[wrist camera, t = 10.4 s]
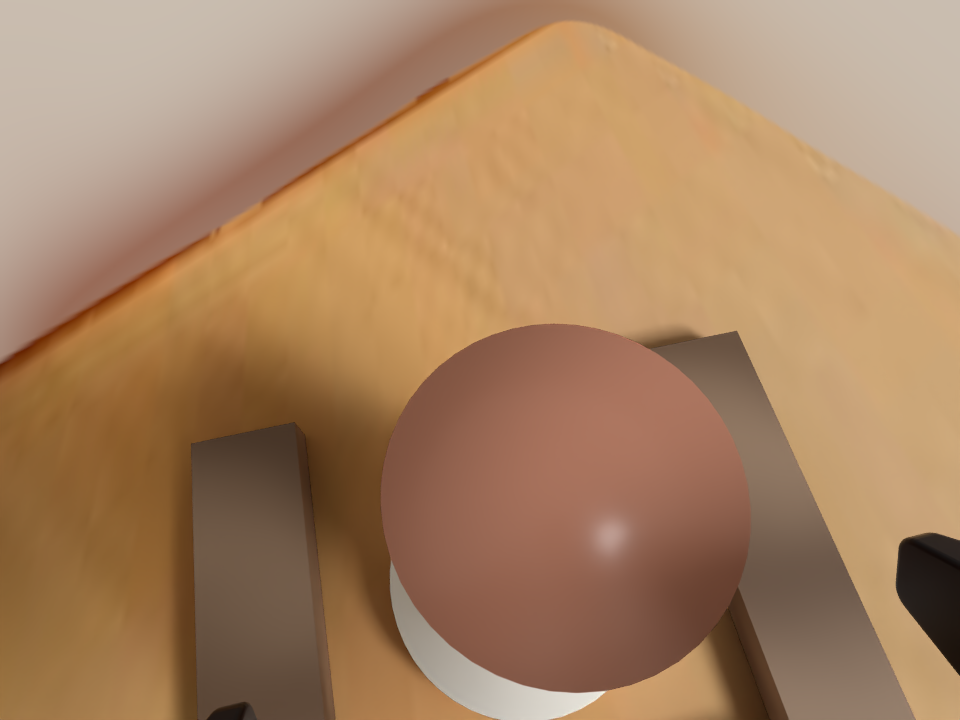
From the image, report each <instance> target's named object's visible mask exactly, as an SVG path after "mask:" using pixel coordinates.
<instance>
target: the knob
mask: <svg viewBox="0 0 960 720" xmlns="http://www.w3.org/2000/svg"><path fill="white" fill-rule="evenodd" d="M381 515H382V522H383V530H384V536H385V539H386V543H387V547H388V550H389V554H390V558H391V567H390V593H391V601H392V608H393V612H394V616H395V619H396V623H397V627H398V629H399V632H400V634H401V637H402V639H403V642H404V644H405V646H406V647H407V649H408V651H409V653H410V655H411V656H412V658H413V660H414V661H415V663H416V664H417V665H418V667H419V668H420V669H421V671H422V672H423V673H424V675H425V676H426V677H427V678H428V679H429V680H430V681H431V682H432V683H433V684H434V685H435V686H436V687H437V688H438V689H439V690H441V691H442V692H443V693H445V694H446V695H447V696H448V697H450V698H451V699H452V700H454V701H455V702H457V703H459V704H461V705H463V706H464V707H466V708H468V709H470V710H472V711H475V712H477V713H480V714H482V715H485V716H487V717H491V718H496V719H500V720H550V719H554V718H558V717H562V716H565V715H567V714H570V713H572V712H575V711H577V710H580V709H581V708H583V707H585V706H586V705H588V704H590V703H592V702H593V701H595V700H596V699H598V698H599V697H600V696H601V695H603V694H604V693H605V692H606V691H608V690H612V689H616V688H620V687H624V686H629V685H632V684H635V683H637V682H640V681H642V680H645V679H647V678H650V677H652V676H655V675H657V674H658V673H660V672H662V671H663V670H665V669H667V668H669V667H670V666H672V665H674V664H675V663H677V662H679V661H680V660H681V659H682V658H683V657H685V656H686V655H687V654H688V653H690V652H691V651H692V650H693V649H694V648H696V647H697V646H698V645H699V644H700V643H701V642H702V641H703V640H704V638H705V637H706V636H707V635H708V634H709V633H710V632H711V631H712V629H713V628H714V627H715V626H716V625H717V623H718V622H719V620H720V618H721V617H722V615H723V614H724V612H725V611H726V609H727V608H728V606H729V605H730V603H731V600H732V598H733V596H734V594H735V592H736V589H737V587H738V585H739V583H740V580H741V577H742V573H743V570H744V566H745V563H746V559H747V555H748V548H749V541H750V534H751V506H750V498H749V491H748V483H747V480H746V476H745V472H744V468H743V464H742V461H741V458H740V455H739V453H738V450H737V448H736V445H735V443H734V440H733V438H732V436H731V434H730V433H729V431H728V429H727V427H726V425H725V423H724V422H723V420H722V418H721V416H720V415H719V414H718V412H717V411H716V409H715V408H714V407H713V405H712V404H711V402H710V401H709V399H708V398H707V397H706V396H705V395H704V394H703V393H702V392H701V390H700V389H699V388H698V387H697V386H696V385H695V384H694V383H693V382H692V381H691V380H690V379H689V378H688V377H687V376H686V375H685V374H683V373H682V372H681V371H680V370H679V369H678V368H677V367H675V366H674V365H673V364H671V363H670V362H668V361H667V360H666V359H664V358H663V357H661V356H660V355H658V354H657V353H655V352H653V351H652V350H650V349H648V348H646V347H644V346H642V345H641V344H639V343H637V342H634V341H632V340H629V339H627V338H625V337H622V336H620V335H617V334H614V333H610V332H607V331H603V330H600V329H596V328H590V327H584V326H579V325H567V324H543V325H531V326H525V327H520V328H514V329H510V330H507V331H503V332H500V333H497V334H494V335H491V336H489V337H486V338H484V339H482V340H479V341H477V342H475V343H473V344H471V345H469V346H468V347H466V348H464V349H463V350H461V351H459V352H458V353H456V354H454V355H453V356H452V357H451V358H449V359H448V360H447V361H445V362H444V363H443V364H442V365H440V366H439V367H438V368H437V369H436V370H435V371H434V372H433V373H432V374H431V375H430V376H429V377H428V378H427V379H426V380H425V381H424V382H423V383H422V384H421V386H420V387H419V388H418V390H417V391H416V392H415V393H414V395H413V396H412V397H411V399H410V400H409V402H408V404H407V405H406V407H405V409H404V410H403V412H402V414H401V416H400V417H399V419H398V422H397V424H396V426H395V429H394V431H393V434H392V436H391V438H390V441H389V445H388V449H387V452H386V456H385V460H384V465H383V473H382V480H381Z"/></svg>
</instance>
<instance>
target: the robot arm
mask: <svg viewBox="0 0 960 720" xmlns="http://www.w3.org/2000/svg"><path fill="white" fill-rule="evenodd" d="M896 590H897V593H898V596H899V598H900V600H901V602H902V603H903V605H904V606H905V608H906V609H907V610H908V611H909V613H910V614H911V615H912V616H913V618H914V619H915V620H916V621H917V623H918V624H919V625H920V626H921V628H922V629H923V630H924V631H925V633H926V634H927V635H928V637H929V638H930V639H931V640H932V642H933V643H934V644H935V645H936V647H937V648H938V649H939V650H940V652H941V653H942V654H943V655H944V657H945V658H946V659H947V660H948V662H949V663H950V664H951V665H952V667H953V668H954V669H955V670H956V672H957V673H958V674H959V676H960V540H956V539H953V538H950V537H947V536H944V535H940V534H937V533H924V534H920V535H916V536H912V537H908V538H905V539H903V540H902V542H901V543H900V545H899V551H898V562H897V574H896ZM206 720H257V717H256V715H255V712H254V709H253V707H252V706H251V705H250V704H249V703H248V702H239V703H235V704H231V705H227V706H223V707H219V708H217V709H215V710H214V711H213V712H212V713H211V714H210V715H209V716H208V718H207V719H206Z"/></svg>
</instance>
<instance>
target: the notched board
mask: <svg viewBox="0 0 960 720" xmlns="http://www.w3.org/2000/svg"><path fill="white" fill-rule="evenodd" d="M650 350H652V351H653V352H655V353H657V354H658V355H660V356H661V357H663V358H664V359H666V360H667V361H668V362H670V363H671V364H673V365H674V366H675V367H677V368H678V369H679V370H680V371H681V372H682V373H683V374H685V375H686V376H687V377H688V378H689V379H690V380H691V381H692V382H693V383H694V384H695V385H696V386H697V387H698V388H699V389H700V390H701V392H702V393H703V394H704V395H705V396H706V397H707V398H708V399H709V401H710V402H711V404H712V405H713V407H714V408H715V409H716V411H717V412H718V414H719V415H720V416H721V418H722V420H723V422H724V423H725V425H726V427H727V429H728V431H729V433H730V434H731V436H732V438H733V440H734V443H735V445H736V448H737V450H738V453H739V455H740V458H741V461H742V464H743V468H744V472H745V476H746V480H747V483H748V491H749V498H750V506H751V534H750V541H749V548H748V555H747V559H746V563H745V566H744V570H743V573H742V577H741V580H740V583H739V585H738V587H737V589H736V592H735V594H734V596H733V598H732V600H731V603H730V605H729V606H728V608H729V611H730V614H731V617H732V619H733V622H734V625H735V627H736V630H737V633H738V635H739V638H740V641H741V643H742V646H743V649H744V652H745V654H746V657H747V660H748V662H749V665H750V668H751V670H752V673H753V676H754V678H755V681H756V684H757V687H758V689H759V692H760V695H761V697H762V700H763V703H764V705H765V708H766V711H767V713H768V716H769V719H770V720H916V719H915V717H914V715H913V713H912V710H911V708H910V706H909V704H908V702H907V700H906V697H905V695H904V693H903V691H902V689H901V687H900V684H899V682H898V680H897V678H896V676H895V673H894V671H893V669H892V667H891V665H890V663H889V660H888V658H887V656H886V654H885V652H884V650H883V647H882V645H881V643H880V641H879V639H878V637H877V634H876V632H875V630H874V628H873V626H872V623H871V621H870V619H869V617H868V615H867V613H866V610H865V608H864V606H863V604H862V602H861V600H860V597H859V595H858V593H857V591H856V589H855V587H854V584H853V582H852V580H851V578H850V576H849V573H848V571H847V569H846V567H845V565H844V563H843V560H842V558H841V556H840V554H839V552H838V550H837V547H836V545H835V543H834V541H833V539H832V537H831V534H830V532H829V530H828V528H827V526H826V523H825V521H824V519H823V517H822V515H821V513H820V510H819V508H818V506H817V504H816V502H815V500H814V497H813V495H812V493H811V491H810V489H809V487H808V484H807V482H806V480H805V478H804V476H803V473H802V471H801V469H800V467H799V465H798V463H797V460H796V458H795V456H794V454H793V452H792V450H791V447H790V445H789V443H788V441H787V439H786V437H785V434H784V432H783V430H782V428H781V426H780V423H779V421H778V419H777V417H776V415H775V413H774V410H773V408H772V406H771V404H770V402H769V400H768V397H767V395H766V393H765V391H764V389H763V386H762V384H761V382H760V380H759V378H758V376H757V373H756V371H755V369H754V367H753V365H752V363H751V360H750V358H749V356H748V354H747V352H746V350H745V347H744V345H743V343H742V341H741V339H740V336H739V334H738V332H737V331H733V332H729V333H724V334H719V335H714V336H709V337H704V338H700V339H695V340H690V341H685V342H680V343H675V344H671V345H666V346H661V347H656V348H651V349H650ZM191 458H192V500H193V543H194V585H195V627H196V670H197V712H198V720H206V719H207V718H208V716H209V715H210V714H211V713H212V712H213V711H214V710H215V709H217V708H219V707H223V706H227V705H231V704H235V703H239V702H248V703H249V704H250V705H251V706H252V707H253V709H254V712H255V715H256V717H257V720H335V711H334V701H333V692H332V683H331V673H330V664H329V655H328V645H327V636H326V627H325V618H324V608H323V599H322V590H321V580H320V571H319V562H318V552H317V543H316V534H315V524H314V515H313V506H312V496H311V487H310V478H309V469H308V459H307V450H306V441H305V435H304V434H303V432H302V431H301V430H300V429H299V427H298V426H297V425H296V424H295V422H294V423H289V424H284V425H279V426H274V427H269V428H265V429H260V430H255V431H250V432H245V433H240V434H236V435H231V436H226V437H221V438H216V439H211V440H207V441H202V442H197V443H192V444H191Z"/></svg>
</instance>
